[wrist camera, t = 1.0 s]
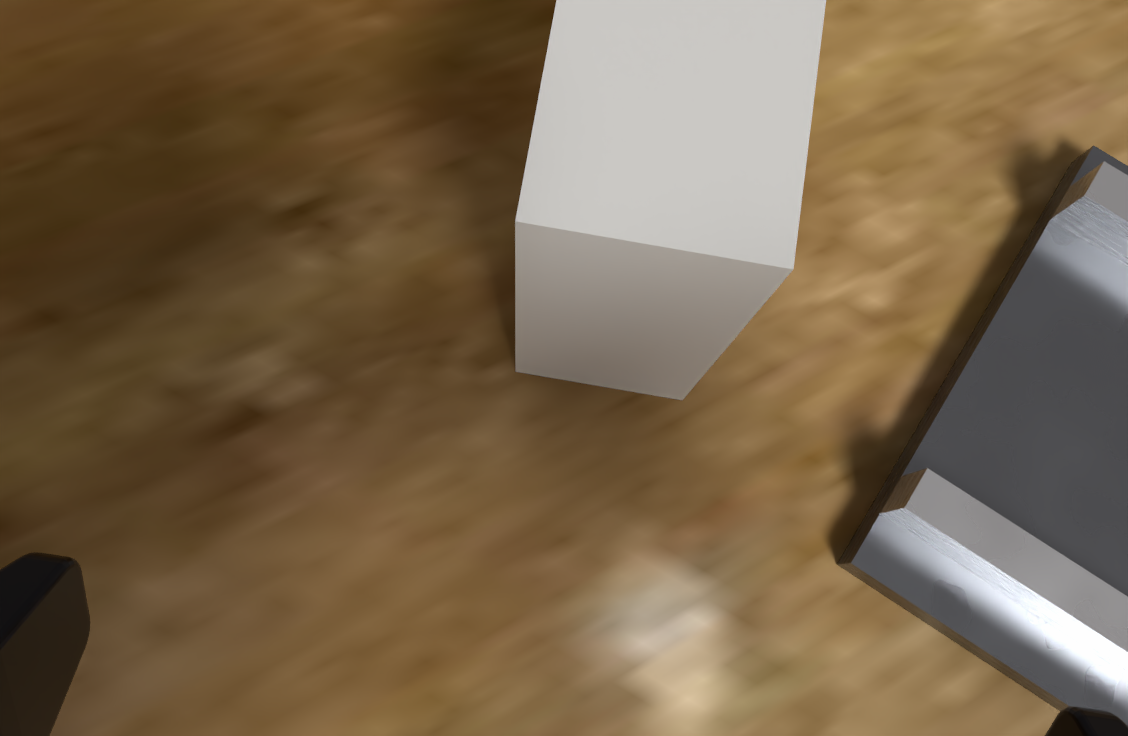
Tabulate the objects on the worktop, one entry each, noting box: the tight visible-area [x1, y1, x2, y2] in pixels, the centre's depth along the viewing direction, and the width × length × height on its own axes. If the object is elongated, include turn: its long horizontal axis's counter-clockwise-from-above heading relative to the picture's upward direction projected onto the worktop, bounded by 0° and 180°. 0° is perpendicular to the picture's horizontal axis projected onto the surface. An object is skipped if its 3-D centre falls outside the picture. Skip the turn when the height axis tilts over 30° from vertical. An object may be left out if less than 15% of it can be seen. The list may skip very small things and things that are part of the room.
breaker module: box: [515, 0, 826, 400], centre depth 20 cm, size 6×4×10 cm
